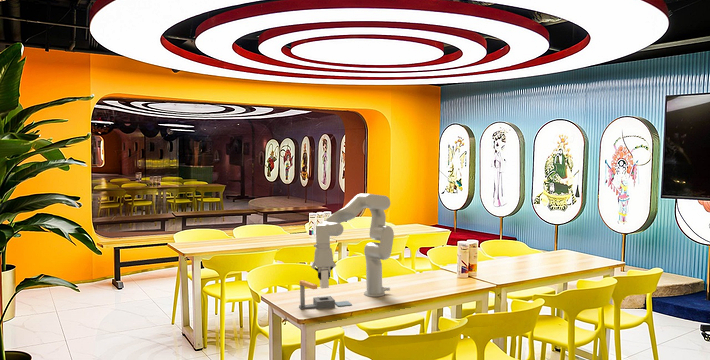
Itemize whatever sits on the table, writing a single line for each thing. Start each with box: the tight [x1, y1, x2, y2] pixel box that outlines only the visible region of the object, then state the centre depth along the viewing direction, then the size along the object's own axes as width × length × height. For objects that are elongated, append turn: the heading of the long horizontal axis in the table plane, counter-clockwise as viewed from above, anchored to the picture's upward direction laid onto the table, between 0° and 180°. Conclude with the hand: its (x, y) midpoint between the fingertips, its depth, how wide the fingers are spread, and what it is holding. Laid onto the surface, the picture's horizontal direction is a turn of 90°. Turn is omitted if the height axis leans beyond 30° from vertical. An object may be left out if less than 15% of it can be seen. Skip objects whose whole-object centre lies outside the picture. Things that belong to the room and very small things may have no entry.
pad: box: [335, 300, 353, 308], centre depth 282 cm, size 8×8×1 cm
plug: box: [319, 267, 330, 289], centre depth 279 cm, size 4×4×11 cm
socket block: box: [298, 284, 336, 310], centre depth 278 cm, size 18×10×13 cm, turn 107°
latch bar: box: [299, 279, 318, 290], centre depth 271 cm, size 16×3×2 cm, turn 35°
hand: (324, 278), depth 279 cm, fingers closed on plug, 4 cm apart
